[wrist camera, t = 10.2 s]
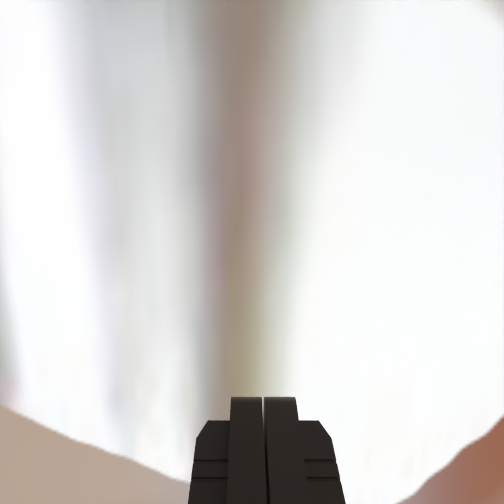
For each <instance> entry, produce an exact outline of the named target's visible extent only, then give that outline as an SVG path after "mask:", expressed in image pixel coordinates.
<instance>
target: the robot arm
mask: <svg viewBox="0 0 504 504" xmlns="http://www.w3.org/2000/svg"><path fill="white" fill-rule="evenodd" d="M188 504H346V503H345V499H344V494H343V489H342V485H341V482H340V476H339V471H338V466H337V464H336V457H335V453H334V448H333V443H332V439H331V437H330V436H329V434H328V433H327V432H326V430H325V429H324V428H323V426H322V425H321V423H320V422H319V421H299V419H298V412H297V405H296V399H295V397H264V410H263V412H262V397H231V410H230V421H211V420H208V421H207V423H206V424H205V426H204V427H203V429H202V430H201V432H200V434H199V435H198V437H197V438H196V445H195V453H194V463H193V468H192V476H191V484H190V492H189V500H188Z"/></svg>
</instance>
